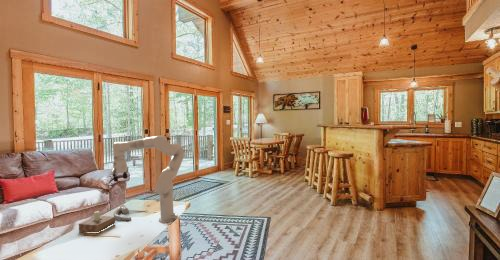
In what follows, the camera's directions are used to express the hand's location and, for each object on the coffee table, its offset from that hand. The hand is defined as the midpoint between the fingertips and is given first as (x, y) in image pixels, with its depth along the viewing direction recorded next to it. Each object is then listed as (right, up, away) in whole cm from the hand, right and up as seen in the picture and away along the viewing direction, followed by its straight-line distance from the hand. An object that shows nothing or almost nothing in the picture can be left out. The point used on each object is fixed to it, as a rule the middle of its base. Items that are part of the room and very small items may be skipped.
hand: (120, 180), depth 199 cm
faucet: (0, -33, +14) cm, 36 cm away
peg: (-11, -33, -11) cm, 37 cm away
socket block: (-11, -33, -11) cm, 37 cm away
